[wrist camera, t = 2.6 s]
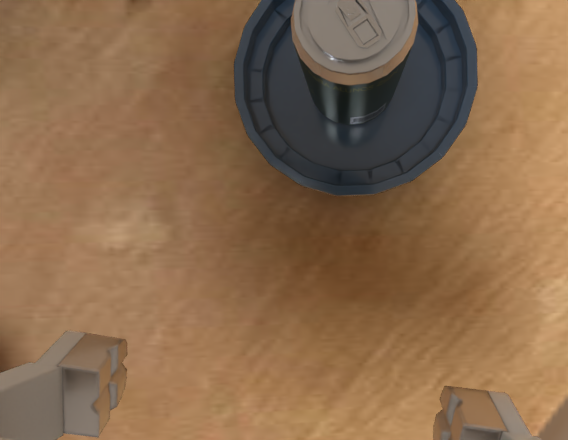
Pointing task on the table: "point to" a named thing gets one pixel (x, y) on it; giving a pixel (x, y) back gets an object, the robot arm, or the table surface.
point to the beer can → (353, 53)
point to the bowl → (360, 137)
